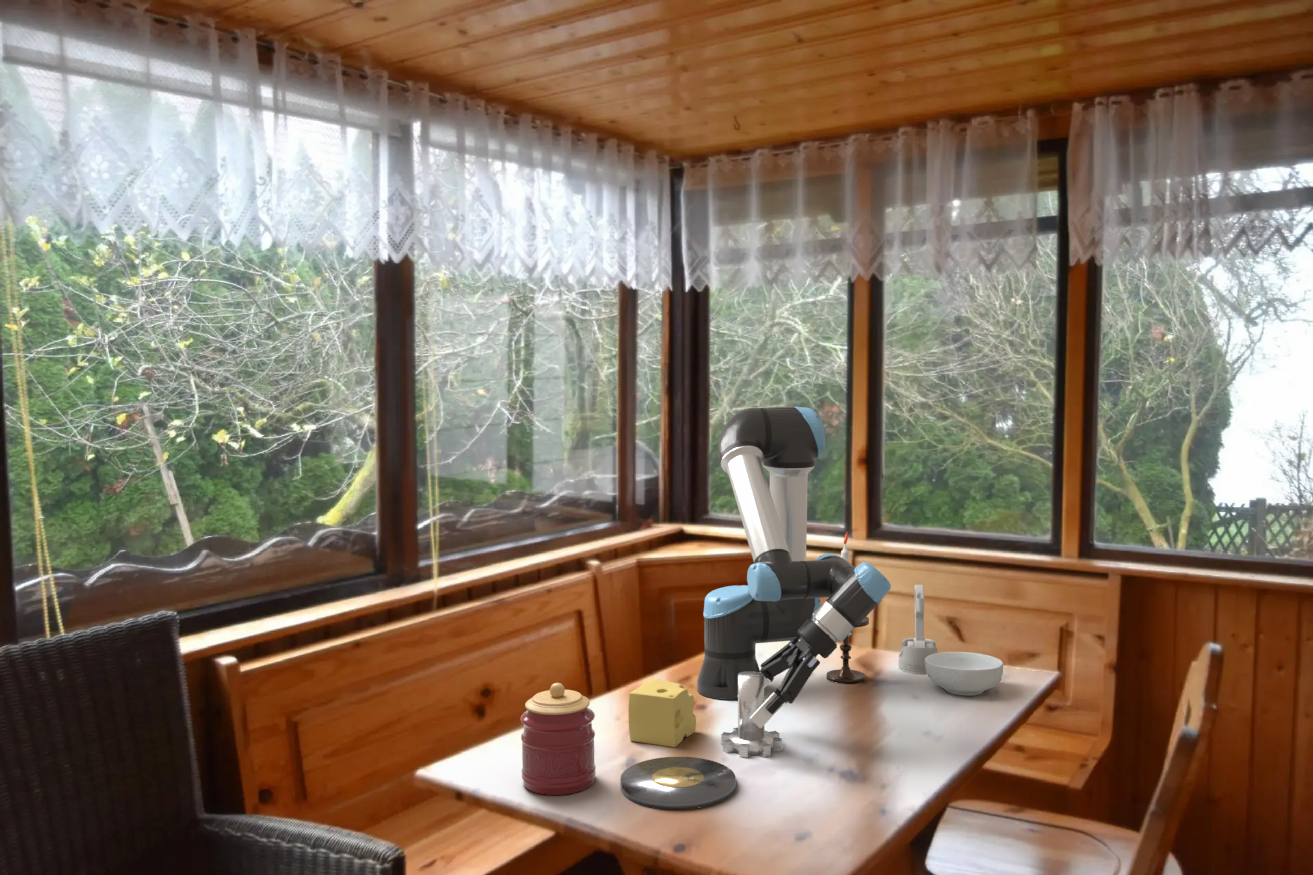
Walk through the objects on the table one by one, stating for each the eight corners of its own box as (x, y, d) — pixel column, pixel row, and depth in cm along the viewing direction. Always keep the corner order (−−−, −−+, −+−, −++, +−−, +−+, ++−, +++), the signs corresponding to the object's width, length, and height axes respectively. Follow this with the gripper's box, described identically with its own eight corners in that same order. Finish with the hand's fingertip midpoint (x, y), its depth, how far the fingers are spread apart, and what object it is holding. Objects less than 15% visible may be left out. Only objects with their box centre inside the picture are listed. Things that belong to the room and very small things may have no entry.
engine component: (899, 673, 241) (942, 675, 239) (899, 589, 240) (942, 590, 238) (897, 661, 252) (938, 663, 250) (897, 580, 251) (938, 581, 249)
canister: (528, 768, 183) (526, 672, 182) (599, 768, 183) (597, 672, 182) (516, 796, 170) (514, 694, 169) (592, 796, 170) (590, 694, 169)
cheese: (696, 732, 202) (695, 682, 201) (674, 749, 192) (674, 698, 192) (649, 725, 206) (649, 677, 206) (626, 742, 196) (625, 691, 196)
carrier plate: (603, 775, 179) (603, 767, 179) (703, 757, 187) (702, 749, 187) (649, 818, 161) (648, 808, 161) (757, 796, 169) (757, 786, 169)
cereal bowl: (1011, 686, 229) (1011, 656, 229) (992, 706, 215) (992, 673, 215) (937, 676, 239) (937, 646, 238) (915, 694, 225) (915, 663, 224)
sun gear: (710, 742, 196) (710, 671, 195) (762, 732, 200) (761, 663, 200) (739, 761, 185) (739, 686, 184) (793, 751, 190) (793, 678, 189)
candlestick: (851, 669, 245) (850, 527, 243) (878, 681, 235) (878, 532, 233) (813, 675, 241) (812, 530, 239) (839, 687, 231) (838, 536, 229)
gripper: (856, 660, 180) (775, 747, 180) (821, 629, 205) (750, 704, 204) (827, 632, 180) (746, 719, 179) (796, 604, 204) (724, 680, 204)
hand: (748, 711), depth 192 cm, fingers open, 13 cm apart
